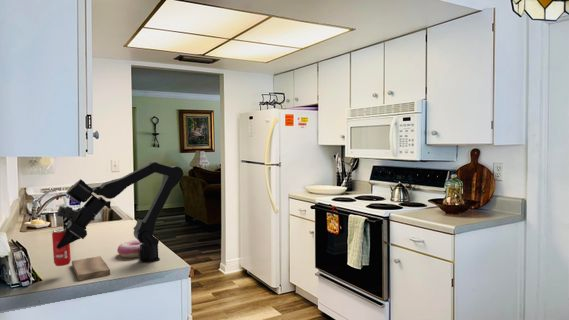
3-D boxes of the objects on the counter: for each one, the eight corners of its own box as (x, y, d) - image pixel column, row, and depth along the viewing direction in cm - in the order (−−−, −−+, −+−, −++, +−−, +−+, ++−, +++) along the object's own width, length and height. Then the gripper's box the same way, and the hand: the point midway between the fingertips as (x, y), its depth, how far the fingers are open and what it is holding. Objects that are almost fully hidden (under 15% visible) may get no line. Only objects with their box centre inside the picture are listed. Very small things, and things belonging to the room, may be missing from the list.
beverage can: (50, 266, 140) (48, 232, 139) (61, 261, 145) (58, 228, 144) (64, 266, 139) (61, 232, 138) (74, 261, 144) (72, 228, 143)
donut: (127, 261, 158) (126, 249, 157) (111, 255, 166) (110, 243, 166) (158, 253, 168) (157, 241, 167) (141, 248, 177) (140, 237, 176)
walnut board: (100, 260, 159) (100, 256, 159) (110, 274, 142) (110, 269, 142) (72, 265, 154) (71, 260, 154) (78, 280, 137) (78, 275, 137)
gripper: (68, 194, 151) (35, 228, 145) (73, 200, 135) (37, 238, 130) (92, 212, 155) (62, 245, 150) (100, 220, 140) (66, 257, 134)
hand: (56, 246), depth 141 cm, fingers closed on beverage can, 5 cm apart
